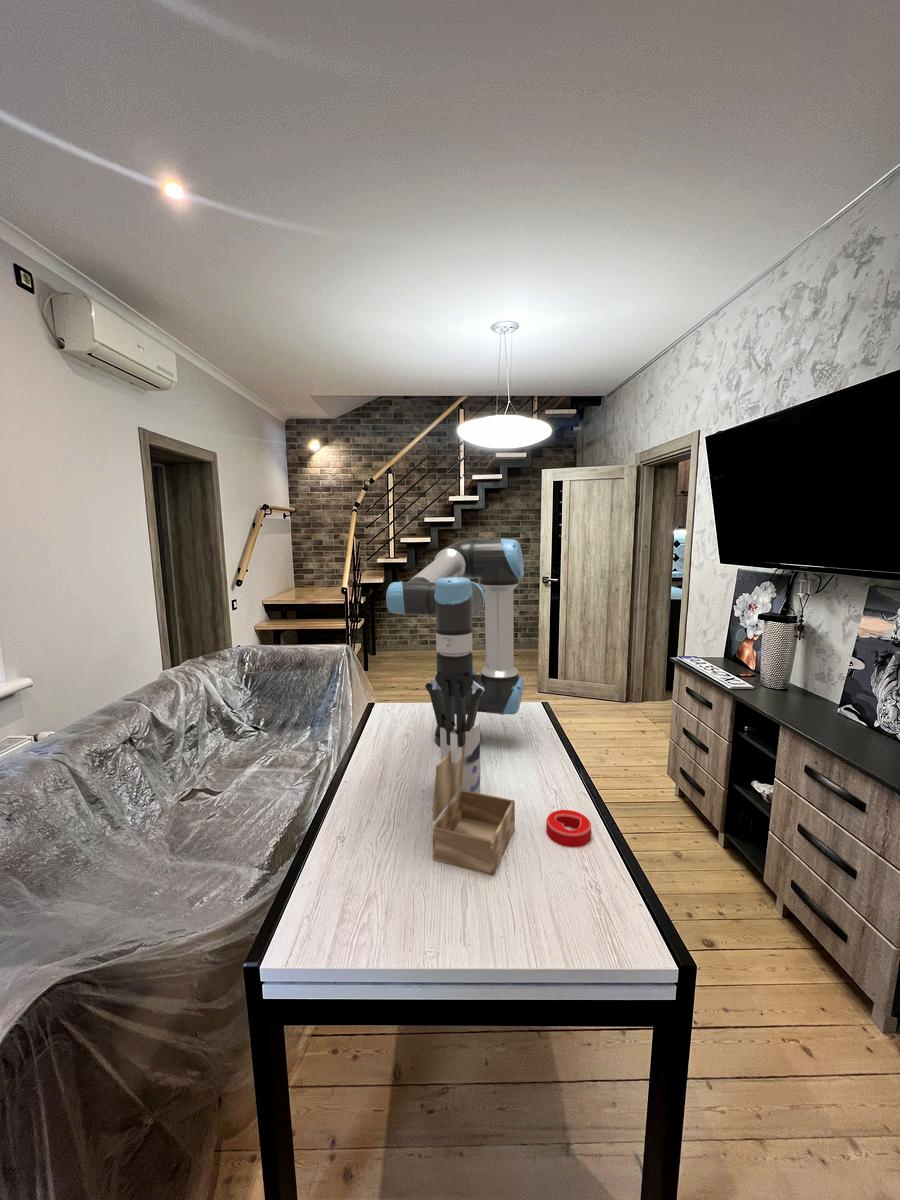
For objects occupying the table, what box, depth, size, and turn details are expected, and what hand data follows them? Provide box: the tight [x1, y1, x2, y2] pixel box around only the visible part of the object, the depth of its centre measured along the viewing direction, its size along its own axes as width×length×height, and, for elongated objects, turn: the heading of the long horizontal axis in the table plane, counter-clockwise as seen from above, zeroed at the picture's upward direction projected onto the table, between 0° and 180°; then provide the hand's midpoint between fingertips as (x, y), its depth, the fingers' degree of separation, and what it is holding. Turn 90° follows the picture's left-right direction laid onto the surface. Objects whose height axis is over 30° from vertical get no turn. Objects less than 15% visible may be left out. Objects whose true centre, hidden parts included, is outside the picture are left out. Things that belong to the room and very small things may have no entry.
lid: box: [431, 737, 466, 823], centre depth 105 cm, size 15×12×1 cm
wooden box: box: [431, 790, 516, 877], centre depth 104 cm, size 16×13×7 cm
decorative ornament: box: [545, 809, 592, 848], centre depth 107 cm, size 10×10×3 cm
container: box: [439, 714, 481, 805], centre depth 122 cm, size 10×10×20 cm
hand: (456, 759), depth 103 cm, fingers closed
